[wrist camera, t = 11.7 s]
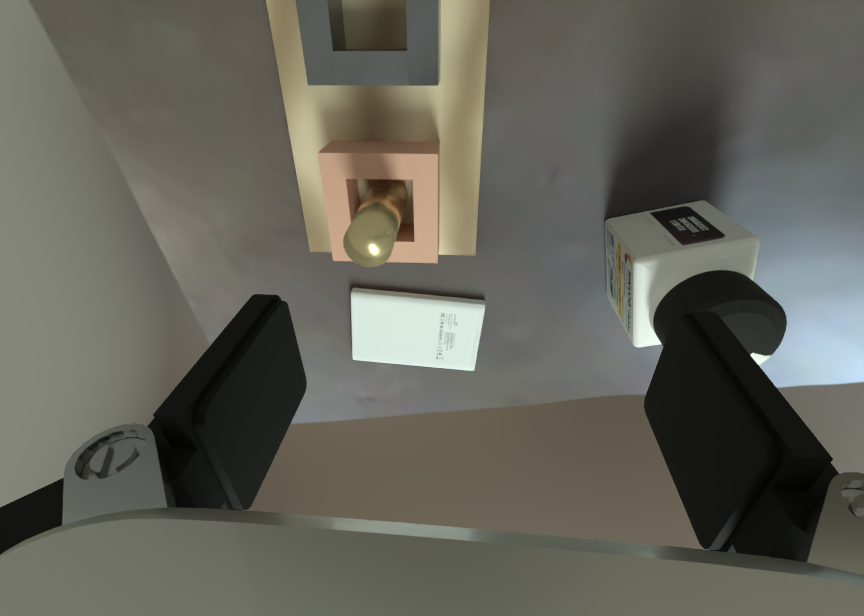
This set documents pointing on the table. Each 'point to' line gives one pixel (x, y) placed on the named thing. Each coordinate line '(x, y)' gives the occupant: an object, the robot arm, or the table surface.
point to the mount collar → (370, 66)
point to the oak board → (391, 109)
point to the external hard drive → (415, 328)
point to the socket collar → (384, 162)
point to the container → (688, 275)
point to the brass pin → (376, 223)
